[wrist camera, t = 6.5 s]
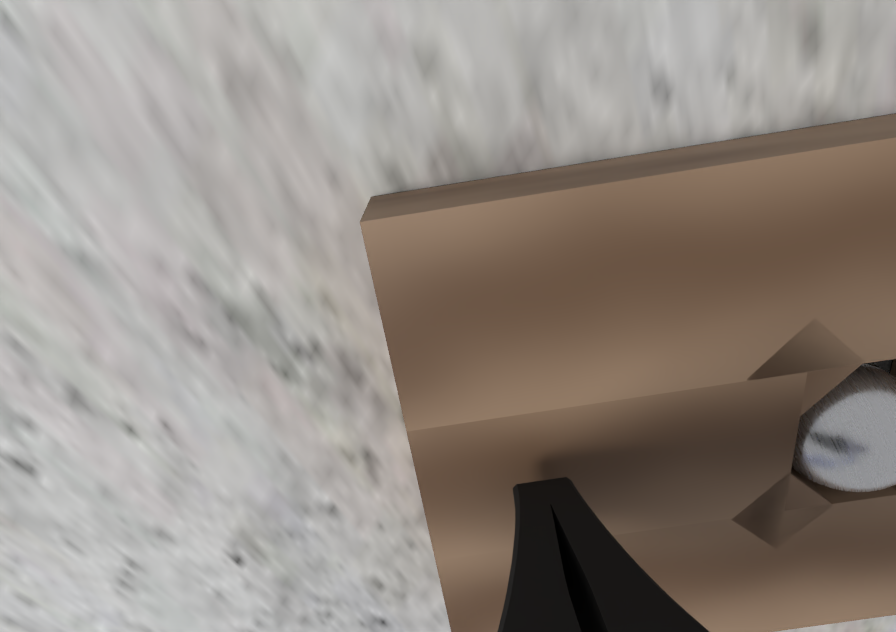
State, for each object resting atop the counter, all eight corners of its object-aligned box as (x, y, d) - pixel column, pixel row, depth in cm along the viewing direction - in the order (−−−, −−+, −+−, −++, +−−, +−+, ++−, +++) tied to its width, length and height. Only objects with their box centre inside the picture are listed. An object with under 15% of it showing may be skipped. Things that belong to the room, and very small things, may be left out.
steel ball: (988, 498, 12) (816, 532, 13) (916, 438, 15) (784, 470, 16) (923, 359, 12) (758, 407, 13) (866, 329, 15) (737, 370, 16)
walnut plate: (937, 535, 18) (1009, 599, 16) (456, 603, 19) (461, 674, 17) (1094, 82, 12) (1246, 81, 10) (371, 197, 13) (359, 221, 10)
